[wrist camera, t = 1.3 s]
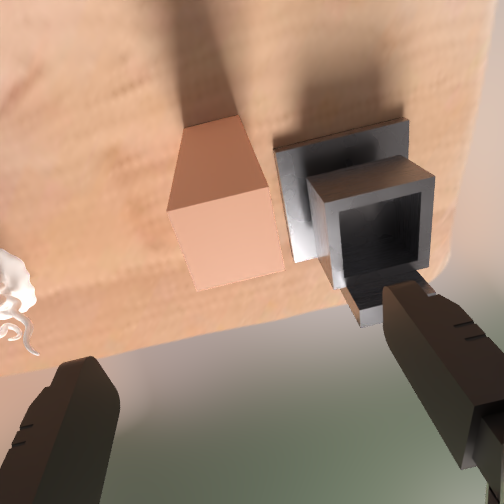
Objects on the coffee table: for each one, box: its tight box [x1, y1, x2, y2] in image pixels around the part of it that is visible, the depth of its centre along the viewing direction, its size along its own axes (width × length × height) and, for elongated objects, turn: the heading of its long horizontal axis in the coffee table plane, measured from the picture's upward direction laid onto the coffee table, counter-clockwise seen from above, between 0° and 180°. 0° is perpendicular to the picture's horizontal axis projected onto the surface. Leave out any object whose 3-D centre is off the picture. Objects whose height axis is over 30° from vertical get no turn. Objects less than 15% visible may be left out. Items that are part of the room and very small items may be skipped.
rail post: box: [167, 115, 285, 292], centre depth 20 cm, size 4×4×14 cm
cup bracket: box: [273, 117, 436, 328], centre depth 25 cm, size 10×10×10 cm
